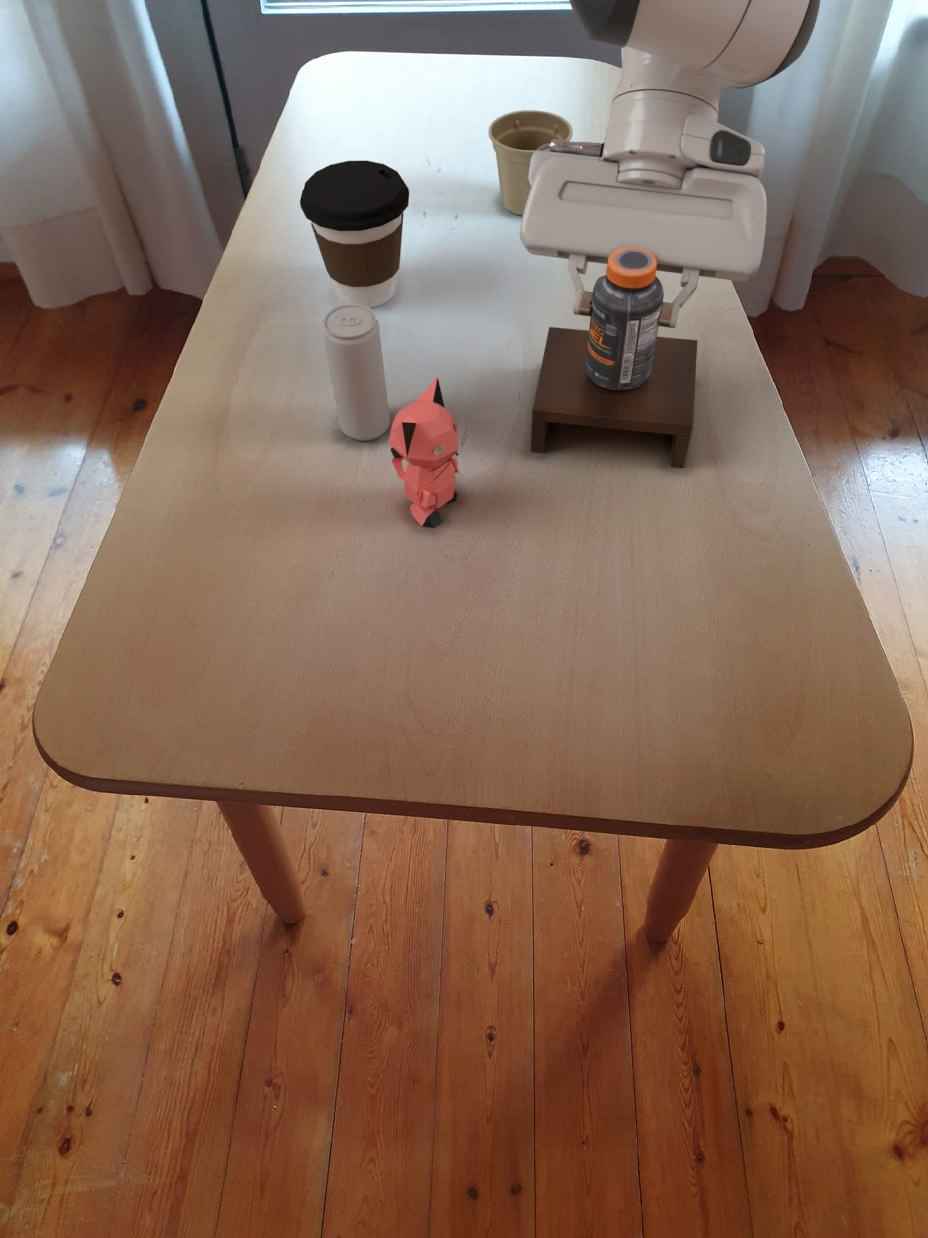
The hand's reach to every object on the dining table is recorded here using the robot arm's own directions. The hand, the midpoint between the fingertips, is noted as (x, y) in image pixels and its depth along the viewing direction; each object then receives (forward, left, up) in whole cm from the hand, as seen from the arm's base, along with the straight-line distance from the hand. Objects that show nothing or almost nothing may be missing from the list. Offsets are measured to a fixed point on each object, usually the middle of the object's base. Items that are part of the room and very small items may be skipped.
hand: (624, 320), depth 81 cm
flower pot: (+13, -37, -11) cm, 41 cm away
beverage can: (+23, +4, -11) cm, 26 cm away
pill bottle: (0, -1, -6) cm, 6 cm away
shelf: (0, -1, -11) cm, 11 cm away
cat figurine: (+15, +13, -11) cm, 23 cm away
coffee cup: (+28, -17, -11) cm, 35 cm away
